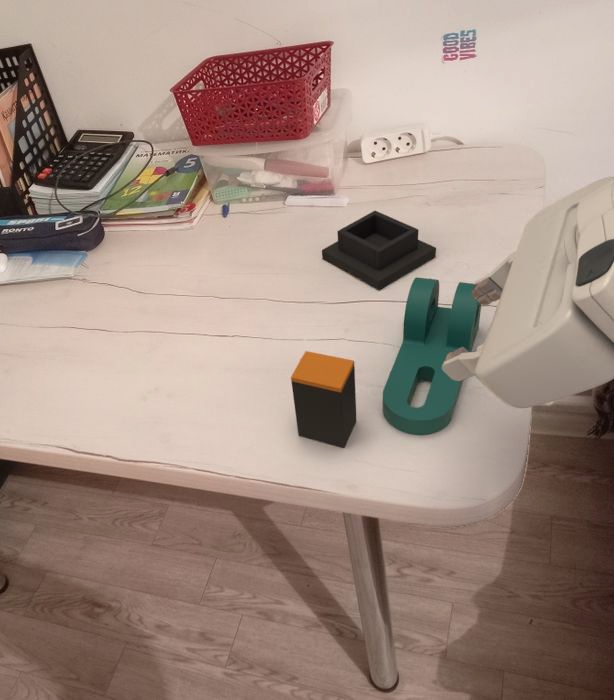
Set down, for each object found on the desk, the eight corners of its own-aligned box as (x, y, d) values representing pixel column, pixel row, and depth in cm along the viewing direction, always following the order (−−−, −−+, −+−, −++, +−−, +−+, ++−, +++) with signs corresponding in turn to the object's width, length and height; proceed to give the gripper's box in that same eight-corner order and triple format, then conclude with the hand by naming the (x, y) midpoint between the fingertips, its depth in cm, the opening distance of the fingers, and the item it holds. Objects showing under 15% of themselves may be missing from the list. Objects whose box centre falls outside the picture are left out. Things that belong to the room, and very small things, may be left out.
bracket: (416, 318, 75) (419, 265, 70) (478, 327, 72) (485, 272, 67) (375, 425, 65) (374, 372, 60) (444, 441, 62) (450, 387, 57)
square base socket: (435, 256, 83) (437, 228, 80) (378, 290, 81) (378, 262, 78) (375, 228, 91) (375, 201, 88) (322, 258, 89) (320, 232, 86)
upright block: (356, 420, 66) (354, 360, 61) (344, 448, 64) (340, 388, 58) (311, 409, 69) (305, 350, 63) (298, 435, 67) (290, 377, 61)
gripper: (631, 130, 44) (467, 233, 55) (595, 305, 33) (399, 389, 44) (692, 190, 44) (517, 280, 56) (677, 384, 33) (461, 446, 45)
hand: (464, 330), depth 50 cm, fingers open, 8 cm apart
